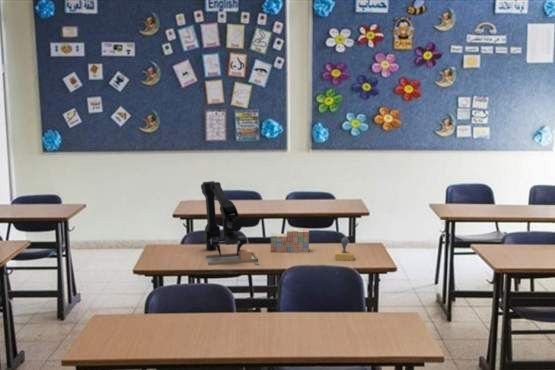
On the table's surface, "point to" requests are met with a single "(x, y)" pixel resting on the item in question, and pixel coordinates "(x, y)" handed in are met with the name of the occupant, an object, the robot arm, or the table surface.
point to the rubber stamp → (344, 252)
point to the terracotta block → (245, 254)
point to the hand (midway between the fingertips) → (228, 256)
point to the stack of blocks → (291, 241)
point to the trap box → (229, 259)
